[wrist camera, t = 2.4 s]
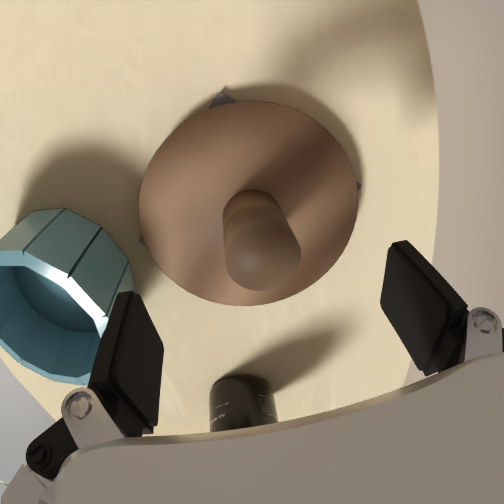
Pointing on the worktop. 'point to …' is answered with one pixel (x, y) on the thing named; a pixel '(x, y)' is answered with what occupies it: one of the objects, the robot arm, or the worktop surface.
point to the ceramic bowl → (58, 292)
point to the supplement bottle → (241, 404)
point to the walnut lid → (248, 203)
